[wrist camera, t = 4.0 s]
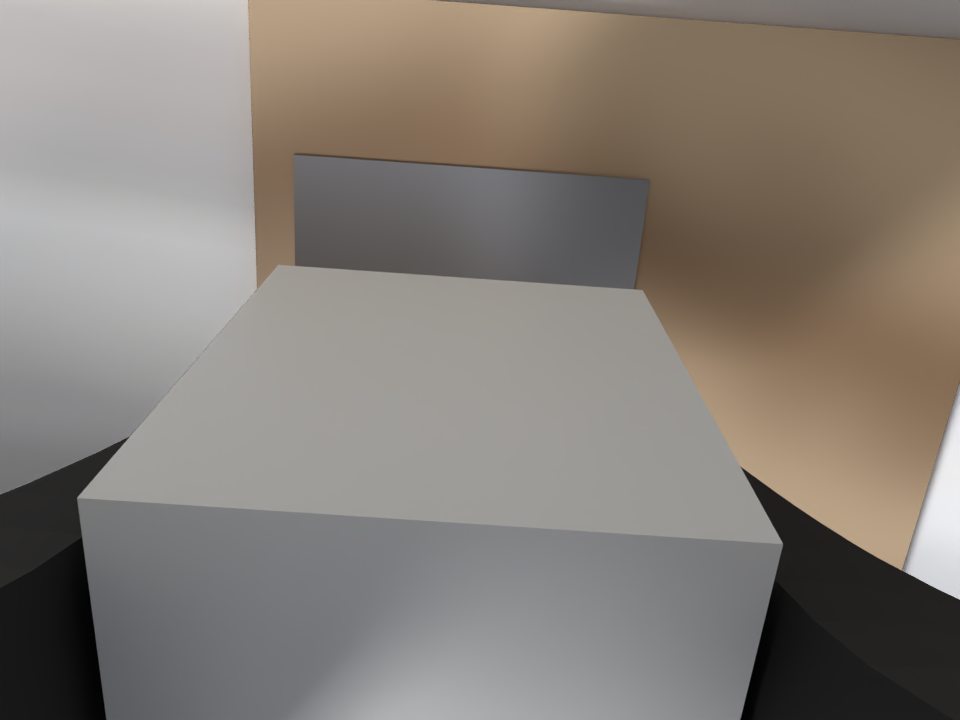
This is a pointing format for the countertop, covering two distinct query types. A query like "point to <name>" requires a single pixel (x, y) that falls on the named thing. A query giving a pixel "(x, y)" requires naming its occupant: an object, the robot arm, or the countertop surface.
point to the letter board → (654, 205)
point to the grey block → (428, 515)
